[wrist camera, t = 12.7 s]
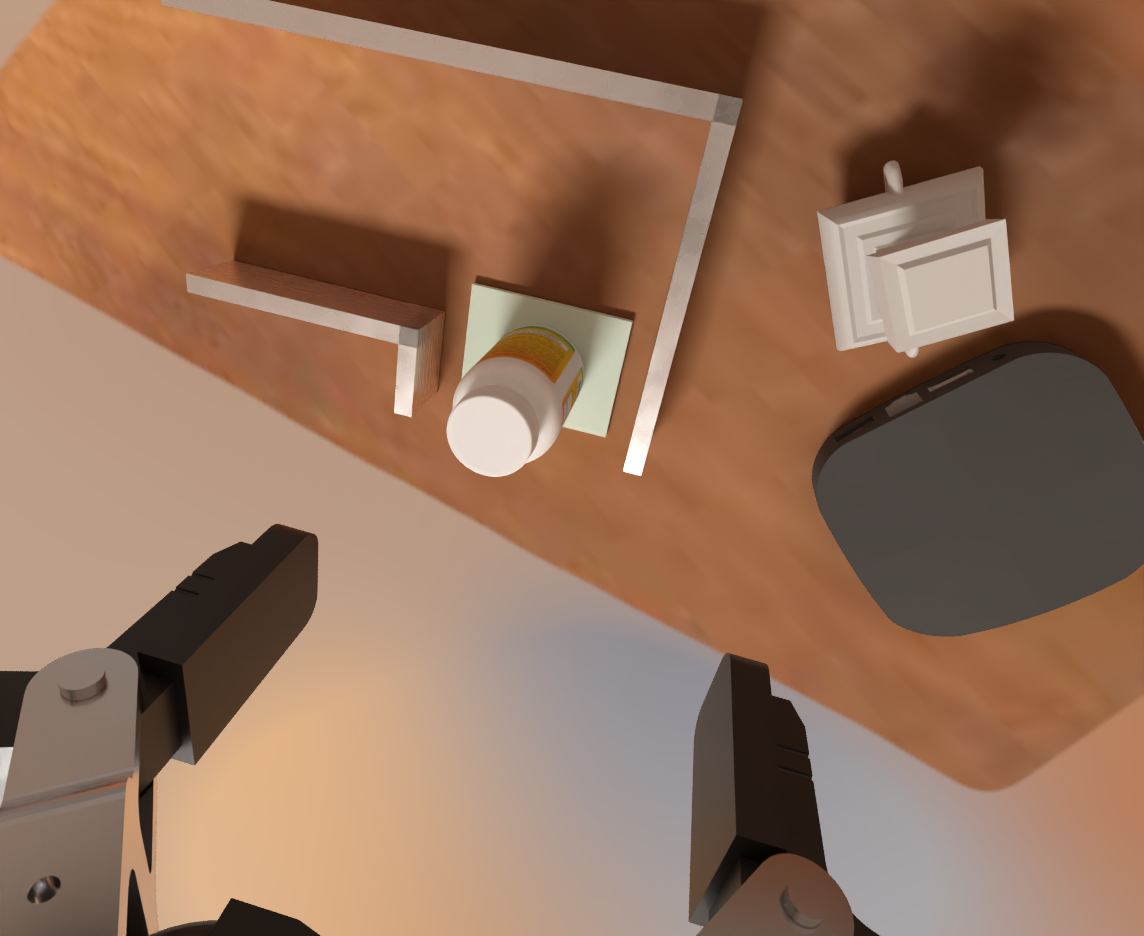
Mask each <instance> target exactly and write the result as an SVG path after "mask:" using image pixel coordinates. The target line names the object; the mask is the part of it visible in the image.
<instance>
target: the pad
mask: <svg viewBox="0 0 1144 936" xmlns="http://www.w3.org/2000/svg"><path fill="white" fill-rule="evenodd" d="M632 323H633V320H630V319H626V318H621V317H617V316H613V315H609V314H604V313H600V312H596V311H592V310H588V309H583V308H579V307H575V306H571V305H567V304H562V303H558V302H554V301H550V300H545V299H541V298H537V297H533V296H529V295H524V294H520V293H516V292H512V291H508V290H503V289H499V288H495V287H491V286H487V285H482V284H478V283H473V284H472V291H471V299H470V308H469V317H468V326H467V335H466V344H465V352H464V361H463V370H462V378H463V377H464V376H465V374H466V373H467V372H468V371H469V370H470V369H471V368H472V367H473V366H474V365H475V364H476V363H477V362H478V361H479V360H480V359H481V358H482V357H483V356H484V355H485V354H486V353H487V352H488V351H489V350H490V349H491V348H492V347H493V346H494V345H495V344H496V343H497V342H498V341H499V340H500V339H501V338H502V337H504V336H505V335H506V334H507V333H509V332H510V331H512V330H514V329H516V328H518V327H522V326H526V325H543V326H547V327H550V328H553V329H555V330H557V331H559V332H560V333H562V334H563V335H565V336H566V337H567V338H568V339H569V340H570V341H571V342H572V343H573V344H574V346H575V347H576V349H577V350H578V352H579V354H580V356H581V359H582V362H583V368H584V379H583V385H582V388H581V391H580V393H579V396H578V398H577V400H576V402H575V403H574V405H573V407H572V409H571V411H570V413H569V416H568V417H567V419H566V421H565V423H564V425H563V427H566V428H570V429H574V430H578V431H582V432H586V433H590V434H594V435H598V436H602V437H606V434H607V430H608V425H609V421H610V417H611V413H612V408H613V404H614V400H615V395H616V391H617V387H618V383H619V378H620V374H621V370H622V366H623V361H624V357H625V353H626V349H627V344H628V340H629V336H630V331H631V327H632Z"/></svg>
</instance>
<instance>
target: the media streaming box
mask: <svg viewBox="0 0 1144 936" xmlns="http://www.w3.org/2000/svg"><path fill="white" fill-rule="evenodd" d="M964 368H965V369H964ZM962 369H963V370H962ZM945 377H946V378H945ZM943 378H944V379H943ZM941 379H942V380H941ZM939 380H940V381H939ZM937 381H938V382H937ZM812 483H813V489H814V492H815V496H816V500H817V503H818V507H819V510H820V512H821V514H822V516H823V518H824V520H825V522H826V523H827V525H828V527H829V529H830V531H831V533H832V534H833V536H834V538H835V540H836V541H837V543H838V545H839V547H840V548H841V550H842V552H843V553H844V555H845V557H846V558H847V560H848V562H849V563H850V565H851V566H852V568H853V570H854V571H855V573H856V574H857V576H858V577H859V579H860V580H861V582H862V583H863V585H864V586H865V587H866V589H867V590H868V592H869V593H870V594H871V596H872V597H873V599H874V600H875V601H876V603H877V604H878V605H879V607H880V608H881V609H882V610H883V612H884V613H885V614H886V615H887V617H888V618H889V619H890V620H891V621H893V622H894V623H896V624H897V625H899V626H901V627H903V628H905V629H908V630H910V631H913V632H917V633H921V634H925V635H932V636H962V635H967V634H972V633H976V632H981V631H985V630H989V629H993V628H997V627H1001V626H1004V625H1008V624H1012V623H1015V622H1018V621H1022V620H1025V619H1028V618H1031V617H1034V616H1037V615H1040V614H1043V613H1046V612H1049V611H1051V610H1054V609H1057V608H1059V607H1062V606H1065V605H1067V604H1070V603H1072V602H1075V601H1077V600H1079V599H1082V598H1084V597H1086V596H1089V595H1091V594H1093V593H1096V592H1098V591H1100V590H1102V589H1104V588H1106V587H1108V586H1110V585H1112V584H1114V583H1116V582H1118V581H1120V580H1122V579H1124V578H1126V577H1128V576H1129V575H1130V574H1132V573H1133V572H1134V571H1136V570H1137V569H1138V568H1139V567H1141V566H1142V565H1143V564H1144V442H1143V440H1142V438H1141V436H1140V434H1139V431H1138V429H1137V428H1136V426H1135V424H1134V422H1133V420H1132V418H1131V416H1130V414H1129V412H1128V411H1127V409H1126V407H1125V405H1124V403H1123V402H1122V400H1121V398H1120V397H1119V395H1118V393H1117V392H1116V390H1115V388H1114V387H1113V385H1112V383H1111V382H1110V380H1109V379H1108V377H1107V376H1106V375H1105V374H1104V373H1103V372H1102V371H1101V370H1100V369H1098V368H1097V367H1096V366H1094V365H1093V364H1091V363H1090V362H1088V361H1086V360H1085V359H1083V358H1082V357H1080V356H1078V355H1077V354H1075V353H1073V352H1072V351H1070V350H1068V349H1066V348H1064V347H1061V346H1058V345H1055V344H1051V343H1044V342H1020V343H1014V344H1009V345H1005V346H1002V347H999V348H997V349H995V350H992V351H990V352H988V353H986V354H983V355H981V356H979V357H977V358H975V359H973V360H970V361H968V362H966V363H964V364H962V365H960V366H958V367H955V368H953V369H951V370H949V371H947V372H945V373H943V374H941V375H939V376H937V377H935V378H933V379H931V380H929V381H927V382H925V383H923V384H921V385H919V386H917V387H915V388H913V389H911V390H909V391H907V392H905V393H903V394H901V395H899V396H897V397H895V398H894V399H892V400H890V401H888V402H886V403H884V404H882V405H880V406H879V407H877V408H875V409H873V410H871V411H870V412H868V413H866V414H864V415H862V416H861V417H859V418H857V419H855V420H853V421H852V422H850V423H848V424H847V425H845V426H843V427H841V428H840V429H838V430H837V431H836V432H834V433H833V434H832V435H831V436H830V437H829V438H828V439H827V441H826V442H825V443H824V444H823V446H822V447H821V449H820V451H819V452H818V454H817V457H816V459H815V462H814V465H813V471H812Z"/></svg>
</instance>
